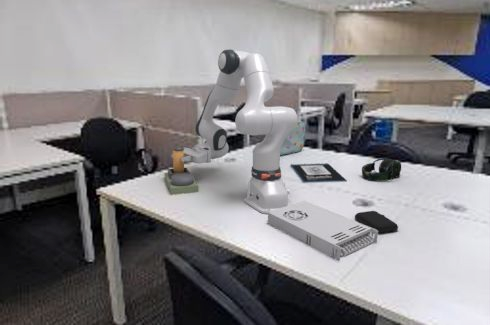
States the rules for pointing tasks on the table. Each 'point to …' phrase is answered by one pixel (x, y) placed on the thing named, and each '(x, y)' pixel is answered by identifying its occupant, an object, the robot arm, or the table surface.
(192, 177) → the green slab
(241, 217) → the table surface
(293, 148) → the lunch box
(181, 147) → the orange pill bottle
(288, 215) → the power supply unit
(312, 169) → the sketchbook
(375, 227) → the carrying case or bag
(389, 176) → the headphones
